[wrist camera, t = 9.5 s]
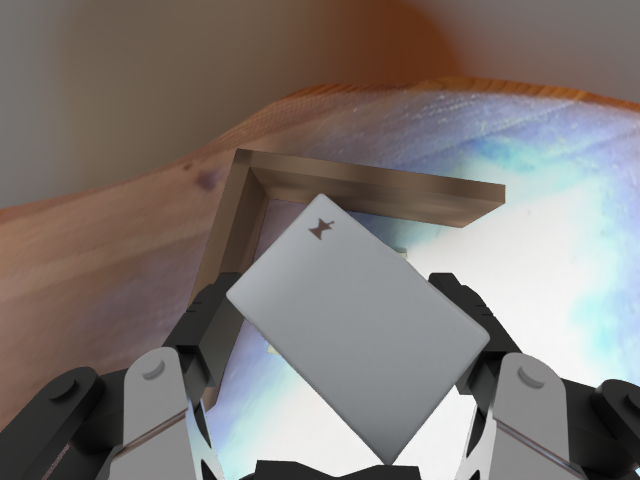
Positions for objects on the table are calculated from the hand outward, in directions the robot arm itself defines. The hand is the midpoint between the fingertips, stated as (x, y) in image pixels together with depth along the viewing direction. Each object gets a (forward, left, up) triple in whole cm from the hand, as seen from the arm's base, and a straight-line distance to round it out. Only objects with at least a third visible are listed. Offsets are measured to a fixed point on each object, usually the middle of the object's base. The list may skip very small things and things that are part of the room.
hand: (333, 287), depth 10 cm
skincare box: (+1, -1, -8) cm, 8 cm away
